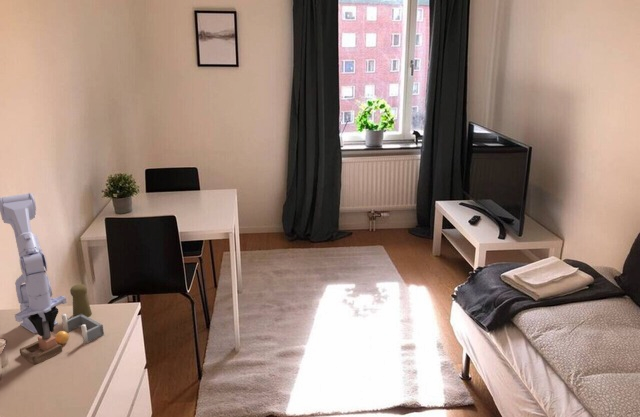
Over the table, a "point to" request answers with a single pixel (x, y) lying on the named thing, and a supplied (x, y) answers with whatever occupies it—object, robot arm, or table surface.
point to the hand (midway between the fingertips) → (45, 332)
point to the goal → (83, 326)
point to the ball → (62, 337)
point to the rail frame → (41, 356)
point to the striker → (46, 338)
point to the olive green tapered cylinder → (80, 301)
